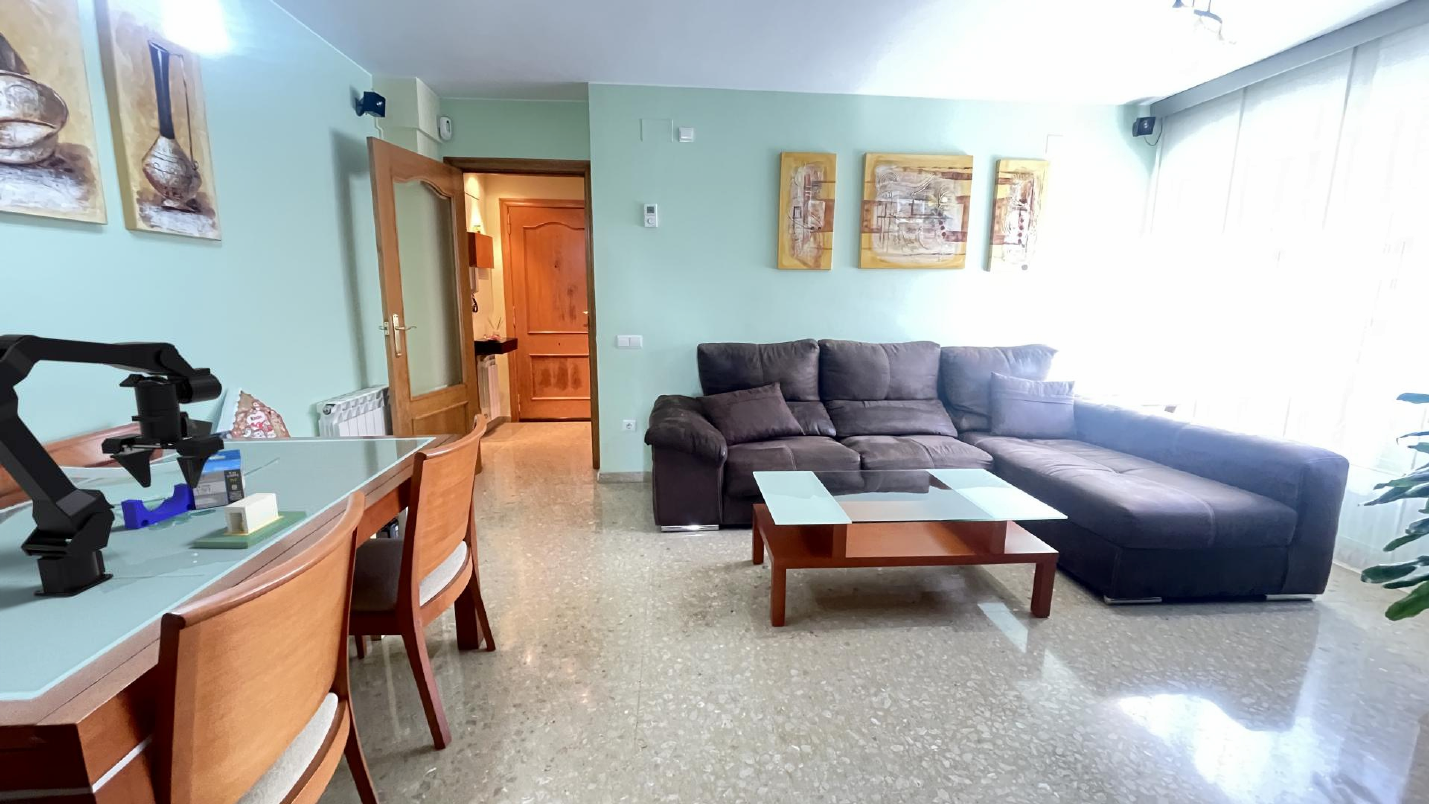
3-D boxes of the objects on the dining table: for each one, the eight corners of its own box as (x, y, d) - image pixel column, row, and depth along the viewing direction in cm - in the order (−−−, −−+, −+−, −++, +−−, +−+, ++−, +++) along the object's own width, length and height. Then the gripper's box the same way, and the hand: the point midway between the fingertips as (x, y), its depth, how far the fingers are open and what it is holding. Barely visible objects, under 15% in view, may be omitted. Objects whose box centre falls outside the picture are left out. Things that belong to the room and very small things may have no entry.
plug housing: (248, 533, 112) (244, 507, 111) (228, 532, 112) (224, 506, 111) (278, 517, 120) (275, 493, 119) (259, 517, 120) (256, 493, 119)
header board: (248, 548, 108) (245, 532, 108) (196, 547, 108) (193, 531, 107) (306, 516, 124) (304, 502, 123) (261, 515, 124) (259, 502, 123)
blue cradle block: (178, 507, 128) (174, 483, 127) (196, 508, 128) (192, 483, 126) (119, 528, 116) (114, 501, 115) (138, 530, 116) (133, 502, 115)
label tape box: (195, 510, 126) (186, 458, 124) (198, 504, 130) (190, 453, 127) (245, 503, 131) (238, 452, 129) (247, 497, 134) (240, 448, 132)
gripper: (243, 402, 113) (252, 477, 115) (154, 400, 113) (165, 474, 116) (191, 412, 102) (202, 494, 104) (92, 410, 102) (105, 491, 105)
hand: (170, 487), depth 108 cm, fingers open, 9 cm apart
